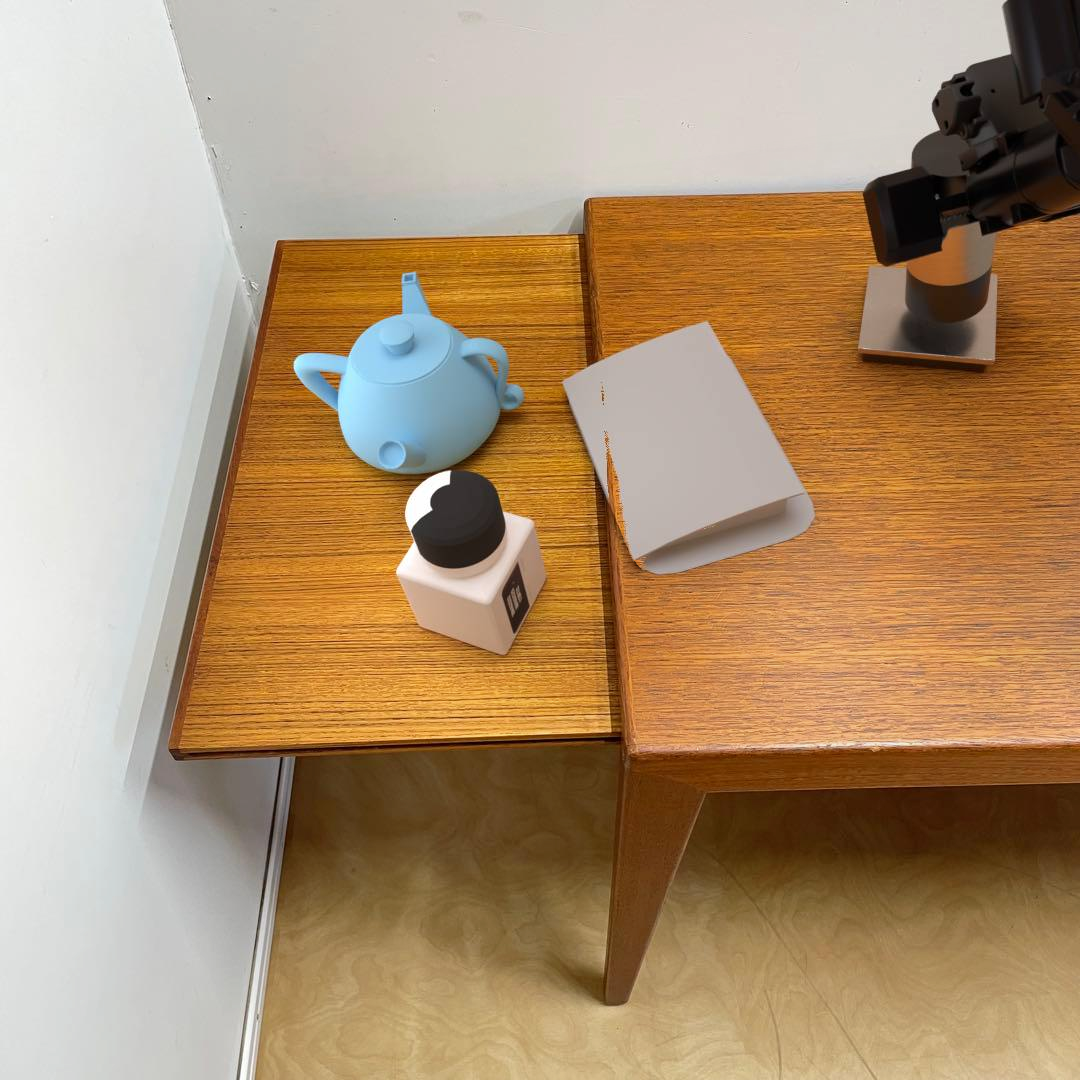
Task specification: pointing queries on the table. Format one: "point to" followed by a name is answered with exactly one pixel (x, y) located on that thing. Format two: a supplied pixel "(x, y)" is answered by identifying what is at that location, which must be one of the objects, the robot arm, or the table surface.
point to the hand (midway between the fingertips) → (942, 215)
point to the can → (949, 245)
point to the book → (687, 452)
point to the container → (469, 561)
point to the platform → (922, 329)
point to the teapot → (414, 389)
